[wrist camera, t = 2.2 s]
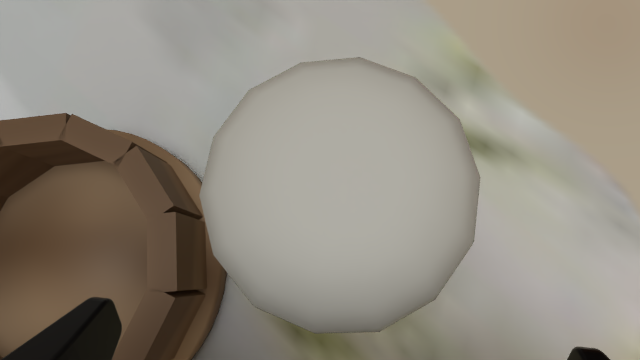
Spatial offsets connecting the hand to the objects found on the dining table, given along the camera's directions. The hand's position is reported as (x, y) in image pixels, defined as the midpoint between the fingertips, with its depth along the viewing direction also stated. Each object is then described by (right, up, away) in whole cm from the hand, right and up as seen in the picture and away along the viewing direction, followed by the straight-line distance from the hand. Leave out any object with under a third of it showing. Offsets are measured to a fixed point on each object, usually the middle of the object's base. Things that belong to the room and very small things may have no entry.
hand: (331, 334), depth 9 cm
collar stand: (-10, -1, +11) cm, 14 cm away
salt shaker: (+1, 0, +10) cm, 10 cm away
